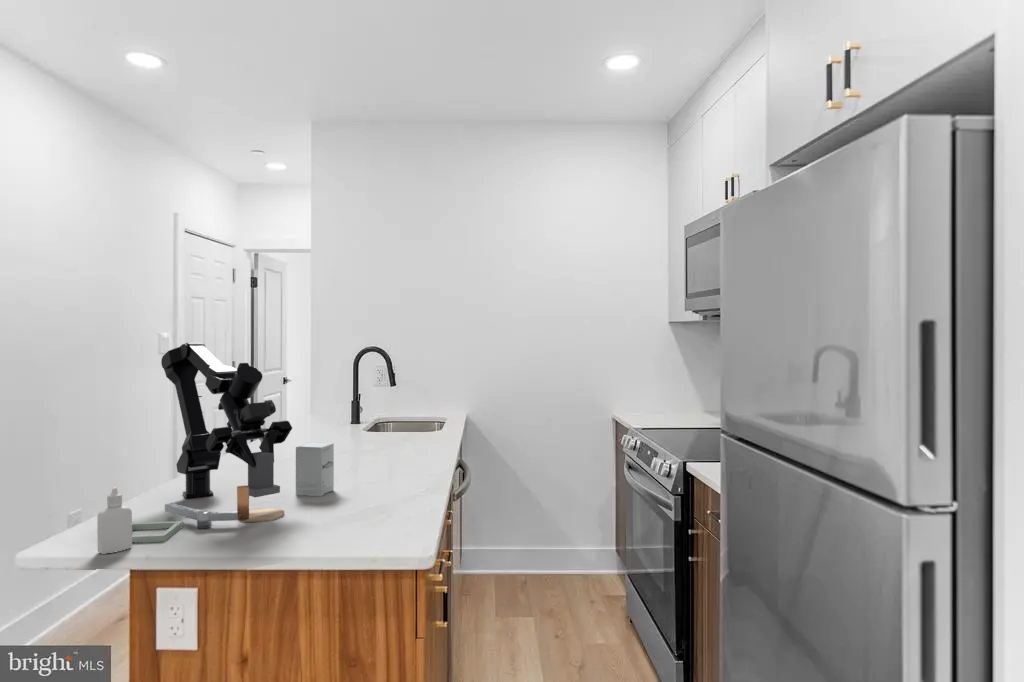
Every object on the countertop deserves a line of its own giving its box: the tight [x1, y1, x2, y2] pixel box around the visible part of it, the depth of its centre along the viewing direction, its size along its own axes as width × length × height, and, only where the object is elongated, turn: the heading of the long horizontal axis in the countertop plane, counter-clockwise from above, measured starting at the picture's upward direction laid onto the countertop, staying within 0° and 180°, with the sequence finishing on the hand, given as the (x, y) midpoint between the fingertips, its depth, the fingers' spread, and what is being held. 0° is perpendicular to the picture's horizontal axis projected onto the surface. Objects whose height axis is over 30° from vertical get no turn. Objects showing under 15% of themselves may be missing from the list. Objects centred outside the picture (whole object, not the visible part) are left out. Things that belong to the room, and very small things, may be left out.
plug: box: [247, 451, 281, 498], centre depth 153 cm, size 6×6×9 cm
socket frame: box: [132, 520, 184, 544], centre depth 139 cm, size 10×10×1 cm
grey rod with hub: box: [164, 485, 250, 529], centre depth 148 cm, size 21×8×8 cm, turn 56°
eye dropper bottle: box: [96, 487, 133, 555], centre depth 129 cm, size 4×6×12 cm
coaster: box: [243, 507, 285, 523], centre depth 153 cm, size 10×10×1 cm
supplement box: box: [295, 442, 335, 497], centre depth 175 cm, size 7×7×13 cm
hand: (263, 464), depth 152 cm, fingers closed on plug, 4 cm apart
